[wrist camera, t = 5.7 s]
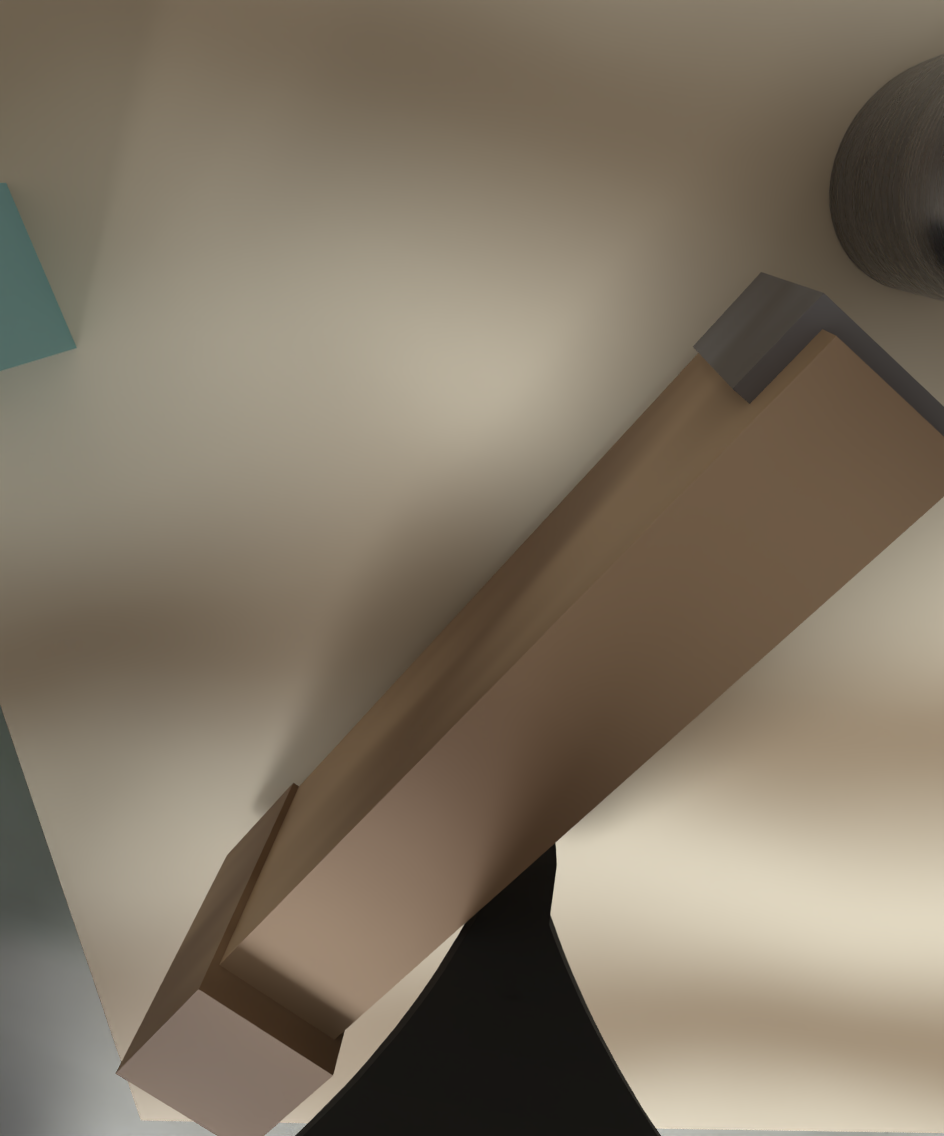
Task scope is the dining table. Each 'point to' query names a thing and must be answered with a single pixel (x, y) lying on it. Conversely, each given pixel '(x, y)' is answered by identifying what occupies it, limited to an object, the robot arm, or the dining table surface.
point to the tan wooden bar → (546, 694)
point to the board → (456, 487)
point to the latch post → (25, 296)
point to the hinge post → (895, 183)
